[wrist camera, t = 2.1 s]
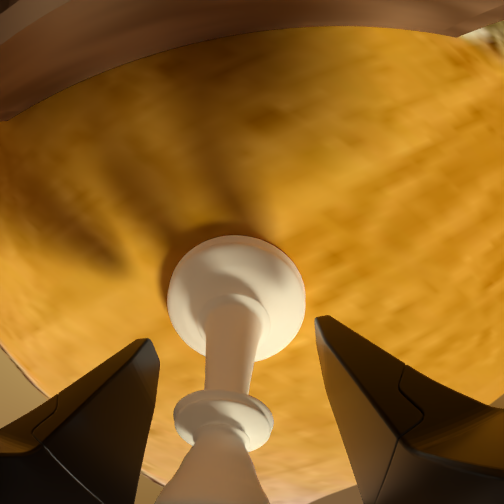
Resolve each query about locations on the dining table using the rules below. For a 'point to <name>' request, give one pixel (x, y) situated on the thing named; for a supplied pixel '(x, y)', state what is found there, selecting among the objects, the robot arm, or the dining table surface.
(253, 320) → the chess piece
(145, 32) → the walnut box
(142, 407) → the robot arm
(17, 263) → the dining table surface
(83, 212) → the dining table surface
